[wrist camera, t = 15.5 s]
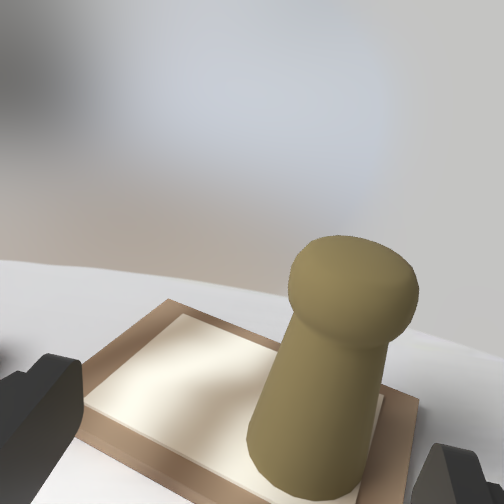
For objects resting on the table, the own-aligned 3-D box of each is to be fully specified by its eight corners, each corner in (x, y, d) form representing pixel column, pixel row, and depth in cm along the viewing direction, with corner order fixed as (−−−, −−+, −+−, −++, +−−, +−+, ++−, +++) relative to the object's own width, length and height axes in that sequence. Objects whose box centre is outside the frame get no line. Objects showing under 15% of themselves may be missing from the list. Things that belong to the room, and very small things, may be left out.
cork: (383, 440, 23) (457, 255, 19) (334, 529, 19) (416, 314, 14) (285, 383, 26) (327, 208, 21) (221, 448, 22) (257, 244, 17)
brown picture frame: (415, 408, 27) (420, 396, 27) (382, 608, 17) (389, 594, 17) (167, 307, 33) (168, 296, 33) (33, 413, 23) (32, 399, 23)
